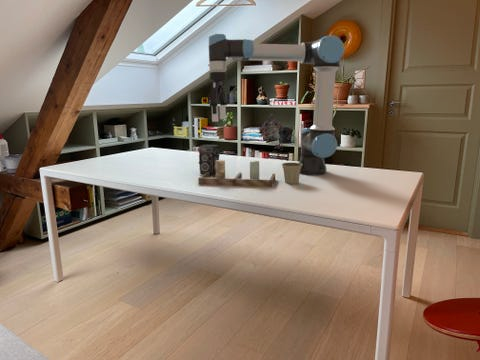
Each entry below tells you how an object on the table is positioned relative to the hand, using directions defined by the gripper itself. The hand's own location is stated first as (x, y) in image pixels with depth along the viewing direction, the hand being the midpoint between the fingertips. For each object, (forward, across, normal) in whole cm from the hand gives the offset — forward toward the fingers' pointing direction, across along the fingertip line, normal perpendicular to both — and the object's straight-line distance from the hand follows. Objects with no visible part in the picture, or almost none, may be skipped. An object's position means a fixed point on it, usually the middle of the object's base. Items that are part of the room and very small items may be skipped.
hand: (219, 120), depth 163 cm
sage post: (+29, 0, +16) cm, 33 cm away
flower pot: (+29, -3, +33) cm, 44 cm away
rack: (+29, 0, +8) cm, 30 cm away
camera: (+29, -14, -10) cm, 34 cm away
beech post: (+29, 0, 0) cm, 29 cm away
